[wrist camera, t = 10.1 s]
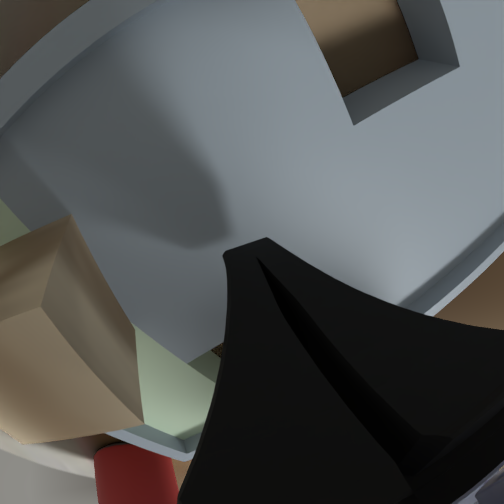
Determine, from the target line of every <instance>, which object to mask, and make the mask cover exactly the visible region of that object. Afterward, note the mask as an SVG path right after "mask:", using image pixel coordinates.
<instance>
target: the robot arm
mask: <svg viewBox="0 0 504 504" xmlns="http://www.w3.org/2000/svg"><path fill="white" fill-rule="evenodd" d="M222 257H223V260H224V263H225V267H226V274H227V313H226V324H225V335H224V342H223V349H222V355H221V361H220V366H219V371H218V375H217V380H216V384H215V389H214V393H213V397H212V401H211V404H210V408H209V411H208V414H207V418H206V421H205V424H204V427H203V430H202V433H201V437H200V440H199V443H198V446H197V448H196V451H195V454H194V456H193V459H192V461H191V464H190V466H189V469H188V471H187V474H186V476H185V478H184V481H183V483H182V486H181V488H180V491H179V493H178V496H177V504H504V468H503V469H501V470H500V471H499V469H500V468H501V467H502V466H503V465H504V330H498V329H491V328H484V327H477V326H471V325H466V324H461V323H457V322H452V321H448V320H443V319H440V318H435V317H432V316H428V315H425V314H422V313H419V312H415V311H412V310H409V309H406V308H403V307H400V306H397V305H394V304H391V303H389V302H386V301H384V300H381V299H379V298H376V297H374V296H371V295H369V294H366V293H364V292H362V291H360V290H357V289H355V288H353V287H351V286H349V285H347V284H345V283H343V282H341V281H339V280H337V279H335V278H333V277H332V276H330V275H328V274H326V273H324V272H323V271H321V270H319V269H317V268H316V267H314V266H312V265H311V264H309V263H307V262H306V261H304V260H302V259H301V258H299V257H298V256H296V255H294V254H293V253H291V252H290V251H288V250H287V249H285V248H284V247H282V246H281V245H279V244H278V243H276V242H275V241H273V240H272V239H270V238H268V237H265V238H262V239H259V240H256V241H253V242H250V243H247V244H244V245H241V246H238V247H235V248H232V249H229V250H226V251H225V252H224V253H223V255H222Z"/></svg>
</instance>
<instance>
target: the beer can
mask: <svg viewBox="0 0 504 504" xmlns="http://www.w3.org/2000/svg"><path fill="white" fill-rule="evenodd" d="M94 468H95V478H96V487H97V495H98V503H99V504H177V496H178V493H179V490H178V486H177V481H176V477H175V473H174V469H173V464H172V460H171V458H170V457H167V456H164V455H161V454H158V453H155V452H152V451H149V450H146V449H144V448H141V447H138V446H136V445H133V444H130V443H128V442H124V443H115V444H111V445H107V446H105V447H103V448H101V449H99V450H98V451H97V453H96V454H95V455H94Z"/></svg>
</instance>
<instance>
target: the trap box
mask: <svg viewBox="0 0 504 504" xmlns="http://www.w3.org/2000/svg"><path fill="white" fill-rule="evenodd" d="M397 2H398V4H399V6H400V9H401V11H402V14H403V16H404V19H405V21H406V24H407V27H408V29H409V32H410V35H411V38H412V41H413V43H414V46H415V49H416V52H417V55H418V60H416V61H414V62H412V63H410V64H408V65H406V66H403V67H401V68H399V69H397V70H395V71H393V72H391V73H389V74H387V75H385V76H383V77H381V78H379V79H377V80H375V81H374V82H372V83H370V84H368V85H366V86H364V87H362V88H360V89H358V90H356V91H354V92H353V93H351V94H349V95H347V96H345V97H343V98H342V96H341V94H340V91H339V89H338V87H337V84H336V82H335V80H334V78H333V75H332V73H331V71H330V69H329V66H328V64H327V62H326V60H325V58H324V56H323V54H322V52H321V50H320V47H319V45H318V43H317V41H316V39H315V37H314V35H313V33H312V31H311V29H310V28H309V26H308V24H307V22H306V20H305V18H304V16H303V14H302V12H301V11H300V9H299V7H298V5H297V3H296V2H295V0H90V1H88V2H87V3H85V4H84V5H83V6H81V7H80V8H79V9H77V10H76V11H75V12H73V13H72V14H71V15H69V16H68V17H67V18H65V19H64V20H63V21H62V22H60V23H59V24H58V25H57V26H56V27H54V28H53V29H52V30H51V31H50V32H48V33H47V34H46V35H45V36H44V37H43V38H41V39H40V40H39V41H38V42H37V43H36V44H35V45H34V46H33V47H31V48H30V49H29V50H28V51H27V52H26V53H25V54H24V55H23V56H22V57H21V58H20V59H19V60H18V61H17V62H16V63H15V64H14V65H13V66H12V67H11V68H10V69H9V70H8V71H7V72H6V73H5V74H4V75H3V76H2V77H1V79H0V246H2V245H4V244H6V243H8V242H10V241H12V240H14V239H16V238H18V237H20V236H23V235H25V234H27V233H29V232H31V231H33V230H36V229H38V228H40V227H42V226H45V225H47V224H49V223H51V222H54V221H56V220H58V219H61V218H63V217H65V216H68V215H70V214H72V215H73V217H74V220H75V222H76V224H77V226H78V228H79V230H80V232H81V234H82V236H83V238H84V240H85V242H86V244H87V246H88V248H89V250H90V252H91V254H92V256H93V258H94V260H95V261H96V263H97V265H98V267H99V269H100V271H101V273H102V274H103V276H104V278H105V280H106V282H107V283H108V285H109V287H110V289H111V290H112V292H113V294H114V296H115V297H116V299H117V301H118V302H119V304H120V306H121V307H122V309H123V311H124V312H125V314H126V316H127V317H128V319H129V321H130V322H131V324H132V325H133V327H134V329H135V336H136V350H137V363H138V373H139V383H140V392H141V401H142V409H143V416H144V423H145V424H144V425H140V426H135V427H131V428H126V429H122V430H117V431H112V432H107V433H106V434H108V435H110V436H113V437H115V438H118V439H120V440H123V441H125V442H128V443H130V444H133V445H136V446H138V447H141V448H144V449H146V450H149V451H152V452H155V453H158V454H161V455H164V456H167V457H170V458H173V459H177V460H180V461H183V462H186V461H188V460H191V459H193V456H194V454H195V451H196V448H197V446H198V443H199V440H200V437H201V433H202V430H203V427H204V424H205V421H206V418H207V414H208V411H209V408H210V404H211V401H212V397H213V393H214V389H215V384H216V380H217V375H218V371H219V366H220V361H221V358H220V357H218V356H217V355H216V354H215V353H213V352H212V351H211V349H213V348H214V347H216V346H218V345H219V344H221V343H223V342H224V335H225V324H226V313H227V274H226V267H225V263H224V260H223V257H222V255H223V253H224V252H225V251H226V250H229V249H232V248H235V247H238V246H241V245H244V244H247V243H250V242H253V241H256V240H259V239H262V238H265V237H268V238H270V239H272V240H273V241H275V242H276V243H278V244H279V245H281V246H282V247H284V248H285V249H287V250H288V251H290V252H291V253H293V254H294V255H296V256H298V257H299V258H301V259H302V260H304V261H306V262H307V263H309V264H311V265H312V266H314V267H316V268H317V269H319V270H321V271H323V272H324V273H326V274H328V275H330V276H332V277H333V278H335V279H337V280H339V281H341V282H343V283H345V284H347V285H349V286H351V287H353V288H355V289H357V290H360V291H362V292H364V293H366V294H369V295H371V296H374V297H376V298H379V299H381V300H384V301H386V302H389V303H391V304H394V305H397V306H400V307H403V308H406V309H409V310H412V311H415V312H419V313H422V314H425V315H428V316H432V317H433V316H434V315H435V314H436V313H437V312H439V311H440V310H441V309H442V308H443V307H445V306H446V305H447V304H448V303H449V302H450V301H451V300H453V299H454V298H455V297H456V296H457V295H458V294H459V293H461V292H462V291H463V290H464V289H465V288H466V287H467V286H468V285H469V284H471V283H472V282H473V280H475V279H476V278H477V277H478V276H479V275H480V274H481V273H482V272H483V271H484V270H485V269H486V268H487V267H488V266H489V265H490V264H491V263H492V262H493V261H494V260H495V259H496V258H497V257H498V256H499V255H500V254H501V253H502V252H503V251H504V0H397Z"/></svg>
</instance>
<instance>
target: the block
mask: <svg viewBox="0 0 504 504" xmlns="http://www.w3.org/2000/svg"><path fill="white" fill-rule="evenodd" d="M144 424H145V423H144V416H143V409H142V401H141V392H140V383H139V373H138V363H137V350H136V336H135V329H134V327H133V325H132V324H131V322H130V321H129V319H128V317H127V316H126V314H125V312H124V311H123V309H122V307H121V306H120V304H119V302H118V301H117V299H116V297H115V296H114V294H113V292H112V290H111V289H110V287H109V285H108V283H107V282H106V280H105V278H104V276H103V274H102V273H101V271H100V269H99V267H98V265H97V263H96V261H95V260H94V258H93V256H92V254H91V252H90V250H89V248H88V246H87V244H86V242H85V240H84V238H83V236H82V234H81V232H80V230H79V228H78V226H77V224H76V222H75V220H74V217H73V215H72V214H70V215H68V216H65V217H63V218H61V219H58V220H56V221H54V222H51V223H49V224H47V225H45V226H42V227H40V228H38V229H36V230H33V231H31V232H29V233H27V234H25V235H23V236H20V237H18V238H16V239H14V240H12V241H10V242H8V243H6V244H4V245H2V246H0V429H1V430H3V431H4V432H6V433H7V434H8V435H10V436H11V437H13V438H14V439H15V440H17V441H18V442H20V443H21V444H23V445H24V444H34V443H43V442H51V441H59V440H66V439H73V438H79V437H85V436H91V435H96V434H102V433H107V432H112V431H117V430H122V429H126V428H131V427H135V426H140V425H144Z"/></svg>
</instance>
